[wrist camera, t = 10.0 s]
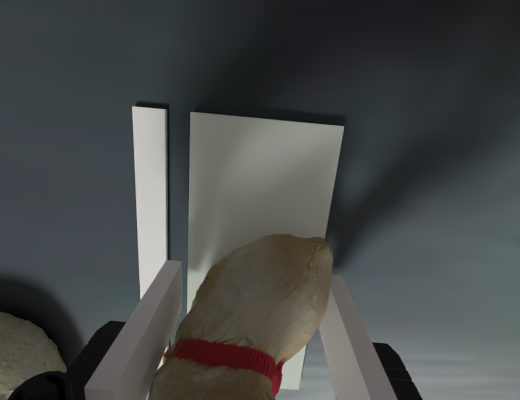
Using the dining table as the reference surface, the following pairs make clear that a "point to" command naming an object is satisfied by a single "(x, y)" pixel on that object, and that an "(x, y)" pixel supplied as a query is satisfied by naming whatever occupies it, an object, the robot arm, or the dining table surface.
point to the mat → (256, 190)
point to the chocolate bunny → (248, 321)
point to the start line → (151, 192)
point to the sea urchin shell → (24, 353)
